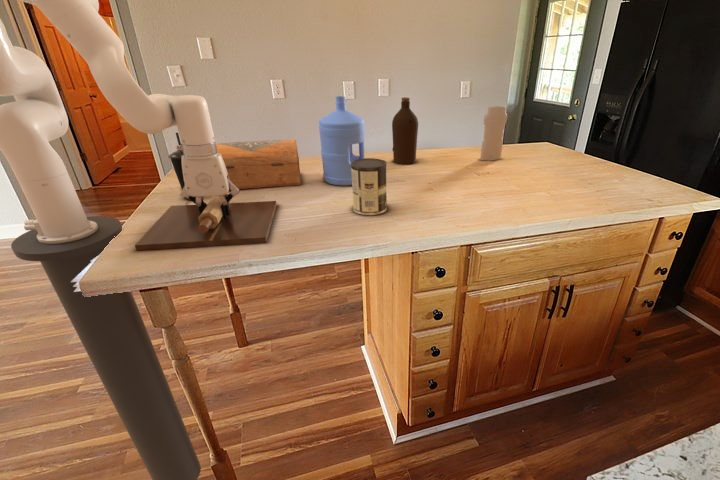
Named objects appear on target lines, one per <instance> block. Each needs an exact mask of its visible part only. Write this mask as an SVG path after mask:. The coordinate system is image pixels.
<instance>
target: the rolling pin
mask: <svg viewBox="0 0 720 480" xmlns="http://www.w3.org/2000/svg"><path fill="white" fill-rule="evenodd" d="M228 194H229V193H227V195H228ZM229 203H230V201H229V202H228V204H229ZM207 204H208V205H207V206H206V208H205V209H204V210H203V212H202V213H201V215H200V216H199V218H198V219H199V223H200V225H199V227H198V230H199V231H200V232H201V233H206V232H207V231H208V230H209V229H214V228H215V227H216V226H217V225H218V223H219V221H220V220H221V218H222V216H223V214H222V209H221V205H222V202H221V200H220V198H219V196H212V198H211V199H210V201H208V203H207Z"/></svg>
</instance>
